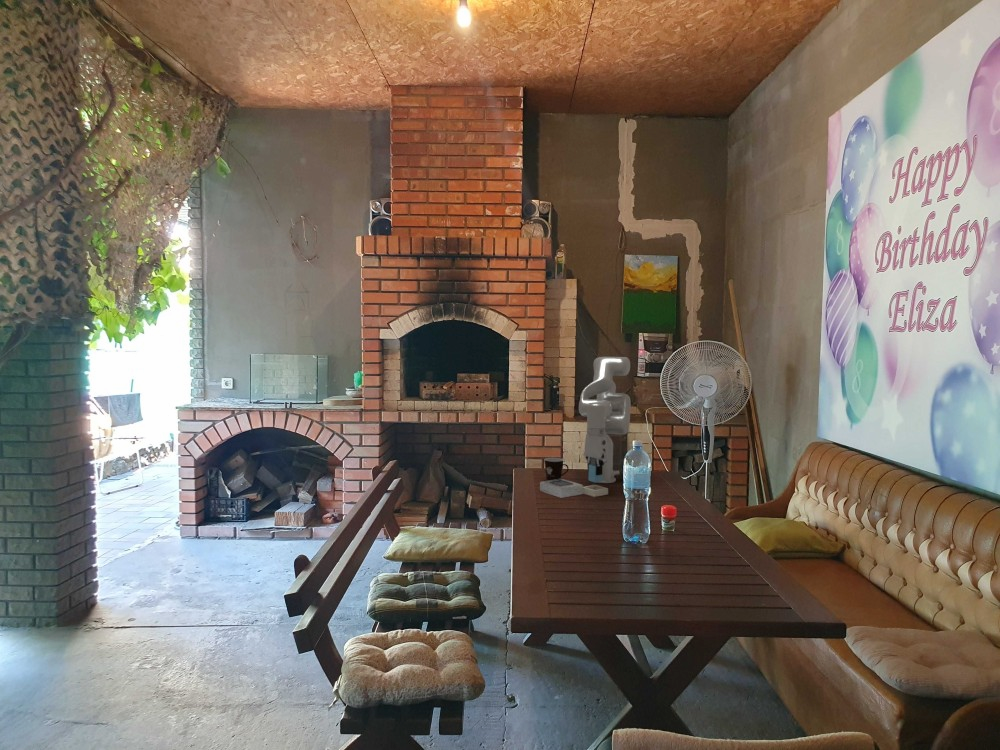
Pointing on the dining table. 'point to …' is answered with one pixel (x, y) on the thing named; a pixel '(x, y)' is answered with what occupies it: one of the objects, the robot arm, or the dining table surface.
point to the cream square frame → (595, 490)
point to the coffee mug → (554, 468)
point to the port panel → (561, 488)
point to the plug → (594, 471)
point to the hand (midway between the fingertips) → (595, 473)
